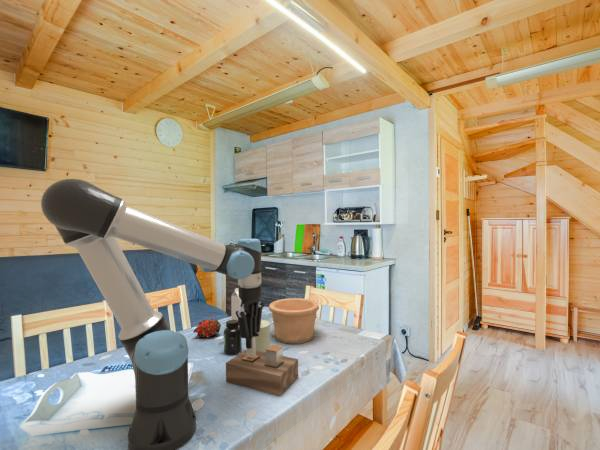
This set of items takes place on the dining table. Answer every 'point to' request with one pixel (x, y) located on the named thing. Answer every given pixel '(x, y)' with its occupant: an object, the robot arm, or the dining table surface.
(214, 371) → the dining table surface
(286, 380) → the socket block
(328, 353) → the dining table surface
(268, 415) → the dining table surface
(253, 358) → the left pin
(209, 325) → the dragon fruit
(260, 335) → the can
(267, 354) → the right pin
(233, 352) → the supplement bottle
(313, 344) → the dining table surface
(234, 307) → the milk carton
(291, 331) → the pottery
